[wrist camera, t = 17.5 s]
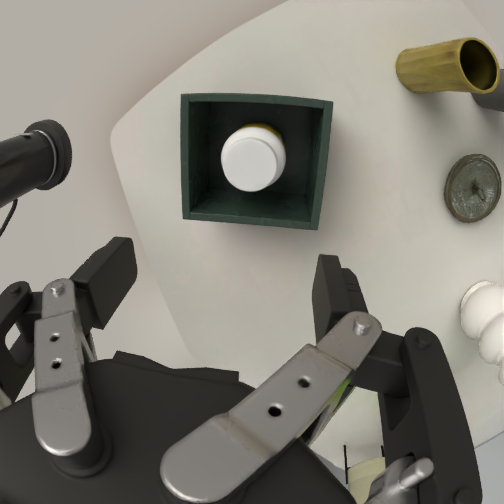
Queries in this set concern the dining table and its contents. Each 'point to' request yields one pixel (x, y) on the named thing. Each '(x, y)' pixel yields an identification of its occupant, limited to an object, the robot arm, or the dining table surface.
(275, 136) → the pill bottle
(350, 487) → the planter
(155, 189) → the dining table surface
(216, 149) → the open box
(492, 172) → the lid
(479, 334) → the vase
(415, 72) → the vase
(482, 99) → the bottle
